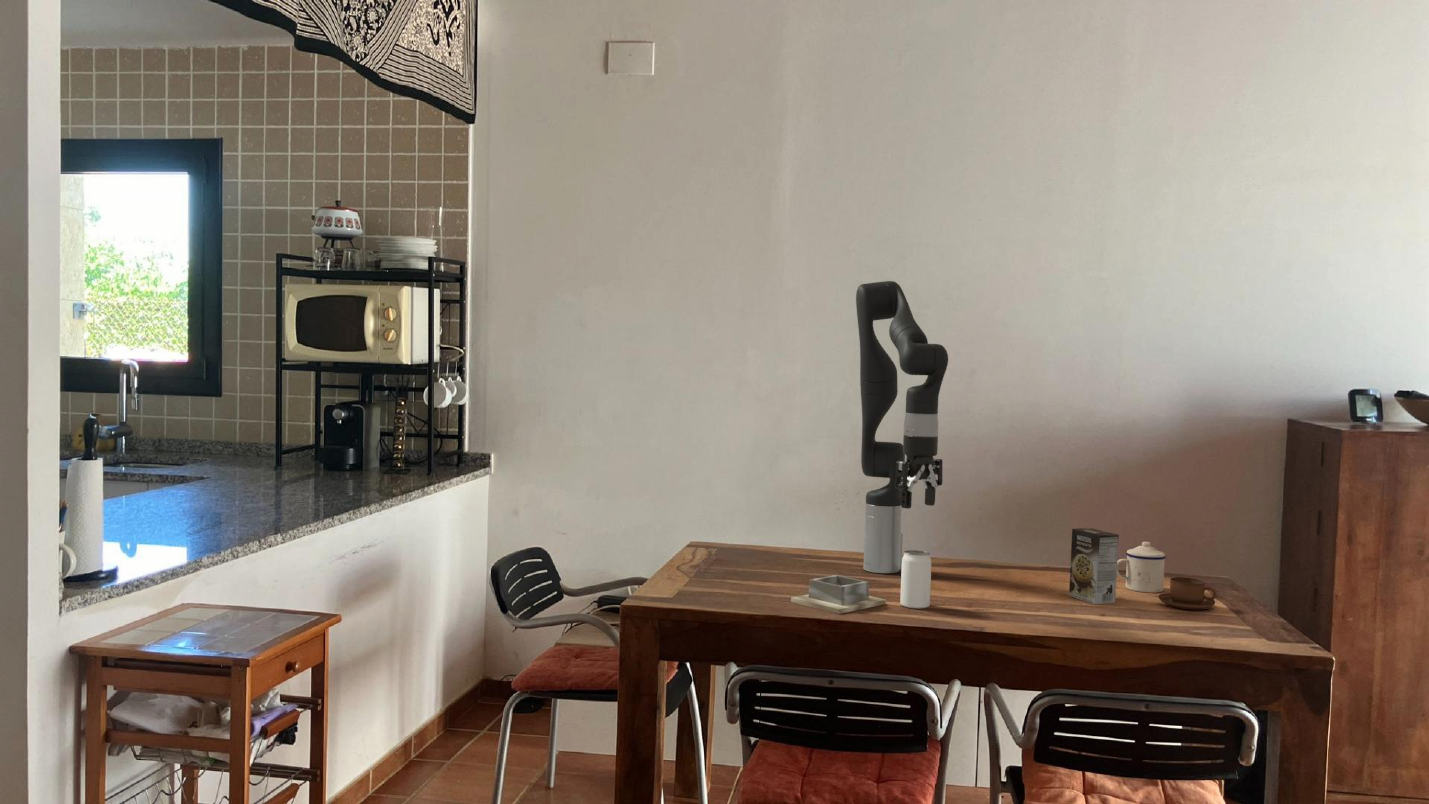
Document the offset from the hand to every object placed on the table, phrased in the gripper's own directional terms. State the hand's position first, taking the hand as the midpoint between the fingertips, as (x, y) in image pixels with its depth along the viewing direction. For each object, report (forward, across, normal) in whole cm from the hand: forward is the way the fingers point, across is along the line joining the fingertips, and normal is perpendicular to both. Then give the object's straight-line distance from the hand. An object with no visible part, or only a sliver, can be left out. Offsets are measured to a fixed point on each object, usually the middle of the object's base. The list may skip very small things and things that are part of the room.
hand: (917, 506), depth 248 cm
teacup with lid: (+22, -61, +22) cm, 69 cm away
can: (+22, 0, 0) cm, 22 cm away
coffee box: (+22, -40, +21) cm, 51 cm away
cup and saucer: (+23, -52, +38) cm, 68 cm away
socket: (+22, +12, -12) cm, 28 cm away
